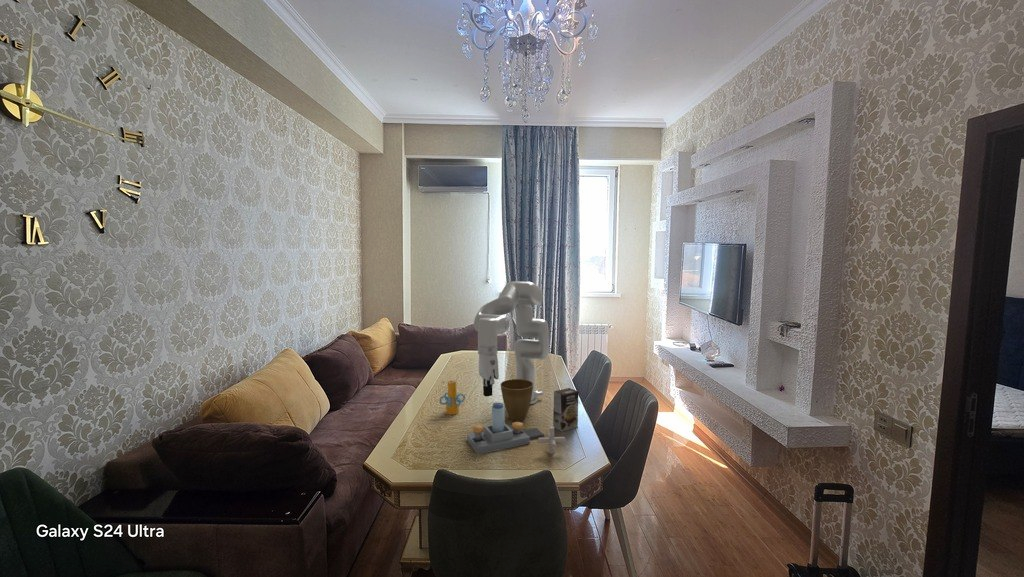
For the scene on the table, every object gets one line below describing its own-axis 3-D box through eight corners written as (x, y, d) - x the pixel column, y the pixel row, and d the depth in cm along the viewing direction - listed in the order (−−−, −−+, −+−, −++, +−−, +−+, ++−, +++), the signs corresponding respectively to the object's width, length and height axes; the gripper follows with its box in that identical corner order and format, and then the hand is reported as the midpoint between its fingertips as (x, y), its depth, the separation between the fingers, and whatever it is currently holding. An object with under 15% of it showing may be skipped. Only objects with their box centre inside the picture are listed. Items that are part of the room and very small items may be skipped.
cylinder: (459, 418, 199) (458, 386, 197) (437, 416, 201) (436, 384, 199) (467, 408, 211) (466, 378, 209) (446, 406, 213) (446, 376, 211)
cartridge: (501, 432, 179) (501, 401, 177) (506, 437, 174) (506, 405, 173) (490, 434, 176) (489, 403, 175) (494, 439, 172) (494, 407, 171)
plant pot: (529, 410, 208) (529, 377, 207) (536, 423, 194) (536, 388, 192) (498, 412, 206) (498, 379, 204) (503, 425, 191) (503, 390, 189)
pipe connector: (536, 447, 171) (536, 422, 170) (562, 446, 172) (562, 421, 171) (540, 459, 161) (540, 433, 160) (567, 458, 162) (567, 432, 161)
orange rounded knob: (481, 434, 175) (481, 424, 174) (485, 439, 171) (485, 428, 170) (471, 436, 173) (470, 425, 172) (474, 441, 169) (474, 430, 168)
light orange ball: (519, 431, 182) (520, 421, 181) (524, 435, 178) (524, 425, 177) (510, 433, 180) (510, 422, 179) (514, 437, 176) (514, 427, 175)
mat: (536, 430, 186) (536, 427, 186) (544, 436, 180) (544, 434, 180) (521, 432, 184) (521, 430, 183) (528, 439, 177) (528, 437, 177)
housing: (516, 430, 186) (516, 418, 185) (529, 443, 174) (530, 430, 174) (467, 440, 177) (466, 427, 176) (477, 454, 165) (477, 440, 165)
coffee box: (561, 432, 184) (562, 395, 183) (552, 426, 190) (553, 390, 188) (578, 427, 189) (579, 391, 188) (569, 422, 195) (569, 387, 193)
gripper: (504, 352, 165) (504, 400, 166) (489, 344, 178) (489, 388, 180) (486, 354, 161) (486, 403, 163) (471, 346, 175) (472, 391, 177)
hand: (487, 395), depth 171 cm, fingers closed
